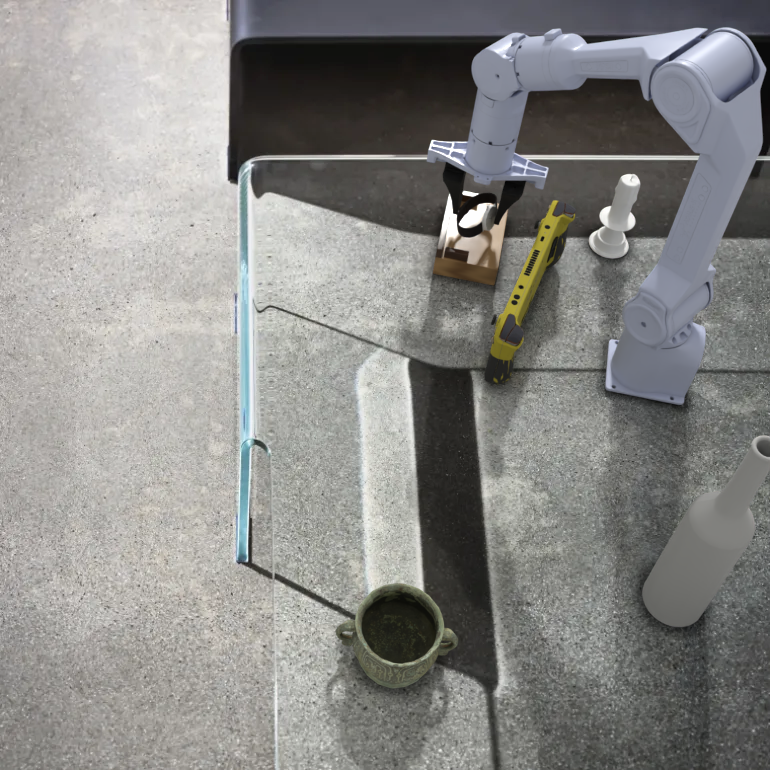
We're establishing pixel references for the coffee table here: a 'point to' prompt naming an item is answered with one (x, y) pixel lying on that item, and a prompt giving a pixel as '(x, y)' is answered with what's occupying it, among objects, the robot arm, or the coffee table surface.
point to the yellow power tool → (527, 291)
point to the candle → (616, 220)
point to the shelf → (469, 246)
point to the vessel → (397, 635)
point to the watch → (488, 215)
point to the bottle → (706, 544)
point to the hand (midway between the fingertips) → (476, 214)
